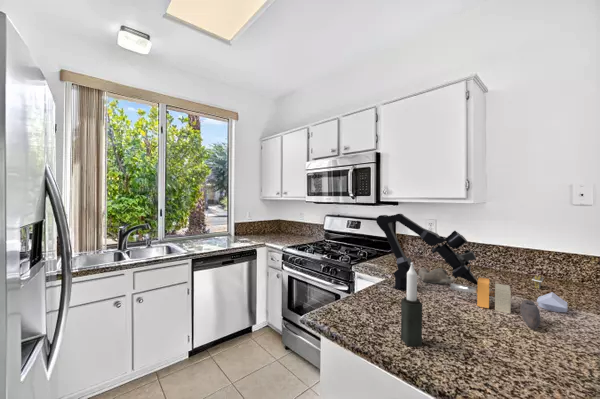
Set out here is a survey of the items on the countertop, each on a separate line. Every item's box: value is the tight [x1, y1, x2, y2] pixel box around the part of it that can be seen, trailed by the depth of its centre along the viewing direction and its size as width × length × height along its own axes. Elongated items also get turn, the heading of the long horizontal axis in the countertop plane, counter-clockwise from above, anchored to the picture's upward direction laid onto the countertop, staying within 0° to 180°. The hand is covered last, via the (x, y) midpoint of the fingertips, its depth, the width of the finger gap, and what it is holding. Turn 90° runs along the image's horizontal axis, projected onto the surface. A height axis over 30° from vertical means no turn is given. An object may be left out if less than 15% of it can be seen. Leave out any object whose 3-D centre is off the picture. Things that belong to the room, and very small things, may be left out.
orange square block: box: [476, 276, 490, 309], centre depth 115 cm, size 4×10×10 cm, turn 144°
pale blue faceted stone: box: [536, 291, 568, 313], centre depth 112 cm, size 9×7×13 cm
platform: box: [531, 274, 544, 290], centre depth 141 cm, size 12×18×7 cm, turn 134°
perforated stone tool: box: [519, 299, 541, 330], centre depth 97 cm, size 15×5×7 cm, turn 144°
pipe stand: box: [449, 282, 512, 314], centre depth 116 cm, size 22×13×9 cm, turn 54°
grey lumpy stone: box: [417, 267, 455, 285], centre depth 147 cm, size 16×9×15 cm
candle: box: [400, 262, 423, 347], centre depth 83 cm, size 5×5×25 cm
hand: (477, 283), depth 116 cm, fingers closed, pressing on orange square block
